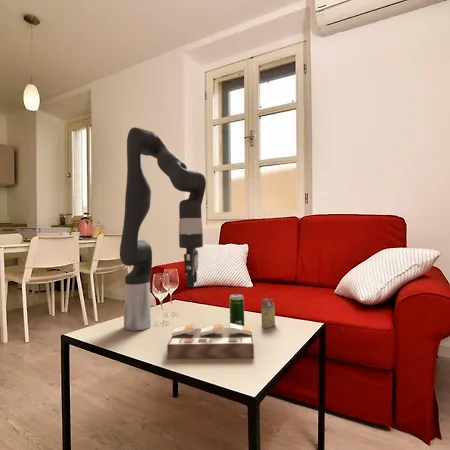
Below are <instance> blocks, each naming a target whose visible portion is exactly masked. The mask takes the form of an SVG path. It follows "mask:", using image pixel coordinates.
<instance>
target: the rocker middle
mask: <svg viewBox="0 0 450 450" xmlns="http://www.w3.org/2000/svg"><path fill="white" fill-rule="evenodd" d="M223 328H224V323H223V322H221V323H217V324H213V325H211V326H206V327H201V328H200V329H201V336H203V335H207V334H211V333H215V332H219V331H223Z"/></svg>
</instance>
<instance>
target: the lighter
mask: <svg viewBox="0 0 450 450" xmlns="http://www.w3.org/2000/svg"><path fill="white" fill-rule="evenodd" d="M261 303H262V304H261V309H260V310H261V327H262V328H263V329H270V328H271V327H274V326H275V325H276V316H275V315H276V314H275V313H276V312H275V308H276V307H275V302H273V298H270V299H269V298H264V299H263V300H262V301H261Z"/></svg>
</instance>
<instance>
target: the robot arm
mask: <svg viewBox="0 0 450 450" xmlns="http://www.w3.org/2000/svg"><path fill="white" fill-rule="evenodd" d="M141 155H142V156H146V157H147V156H151V157H153V158H155V159H156V162H157V163H156V164H157V166H158V167H159V169H160V170H161V172H163V173H164V174H165V175H166V176H168V179H169V180H170V183H171V184H172V186H173V188H175V189H176V190H177V191H179V192H185V193H189V195H188V198H187V199H182V200H181V201H179V205H178V208H179V209H178V212H179V213H178V214H179V217H178V218H179V221H178V242H179V243H178V247H179V248H180V249H185V252H186V253H184V254H183V263H184V267H183V268H184V271H183V273H184V274H185V277H186V287H187V288H194V287H195V284H196V283H197V281H198V277H197V275H198V273H197V271H198V268H199V251H198V250H197V249H200V248H203V246H204V233H203V232H204V231H203V230H204V229H203V228H204V227H203V219H202V203H203V200H204V195H205V192H206V188H207V187H206V186H207V181H206V177H205V175H204V173H202V172H201V171H199V170H192V169H188V168H187V164H186V163H185V162H184V161H183V160H182V159H180V158H179V157H178V156H177V155H176V154H174V153H173V152H172V151H171V150H170V149H169V148H168V146H167V145H166V144H165V143H164V142H163V140H162V139H161V137H160V136H159V135H158V134H157V133H155V132H154V131H152V130H148V129H144V128H141V127H136V126H135V127H131V128H130V129H129V131H128V133H127V139H126V161H127V162H126V164H127V165H126V167H127V169H126V171H127V172H126V187H125V196H124V197H125V199H124V205H125V206H124V218H123V227H122V235H121V239H120V247H119V259H120V262H121V263H122V264H123V265H124V266H127V267H132V266H133V268H132V269H131V271H130V272H129V273H127V274H126V275H125V277H124V292H125V293H124V295H125V301H124V303H123V330H127V331H131V332H133V331H134V332H137V331H144V330H147V329H150V327H151V326H152V324H151V323H152V322H151V321H152V319H151V318H152V317H151V282H150V281H151V280H150V279H151V276H152V272H153V265H152V264H153V250H152V246H151V245H150V243H149V242H148V241H146V240H139V231H140V228H141V225H142V224H143V221H145V219H146V217H147V215H148V213H149V210H150V207H151V202H152V201H151V199H152V197H151V196H152V188H151V186H150V184H149V181H148V179H147V177H146V175H145V173H144V170H143V167H142V161H141V159H142V158H141V157H142V156H141Z"/></svg>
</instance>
